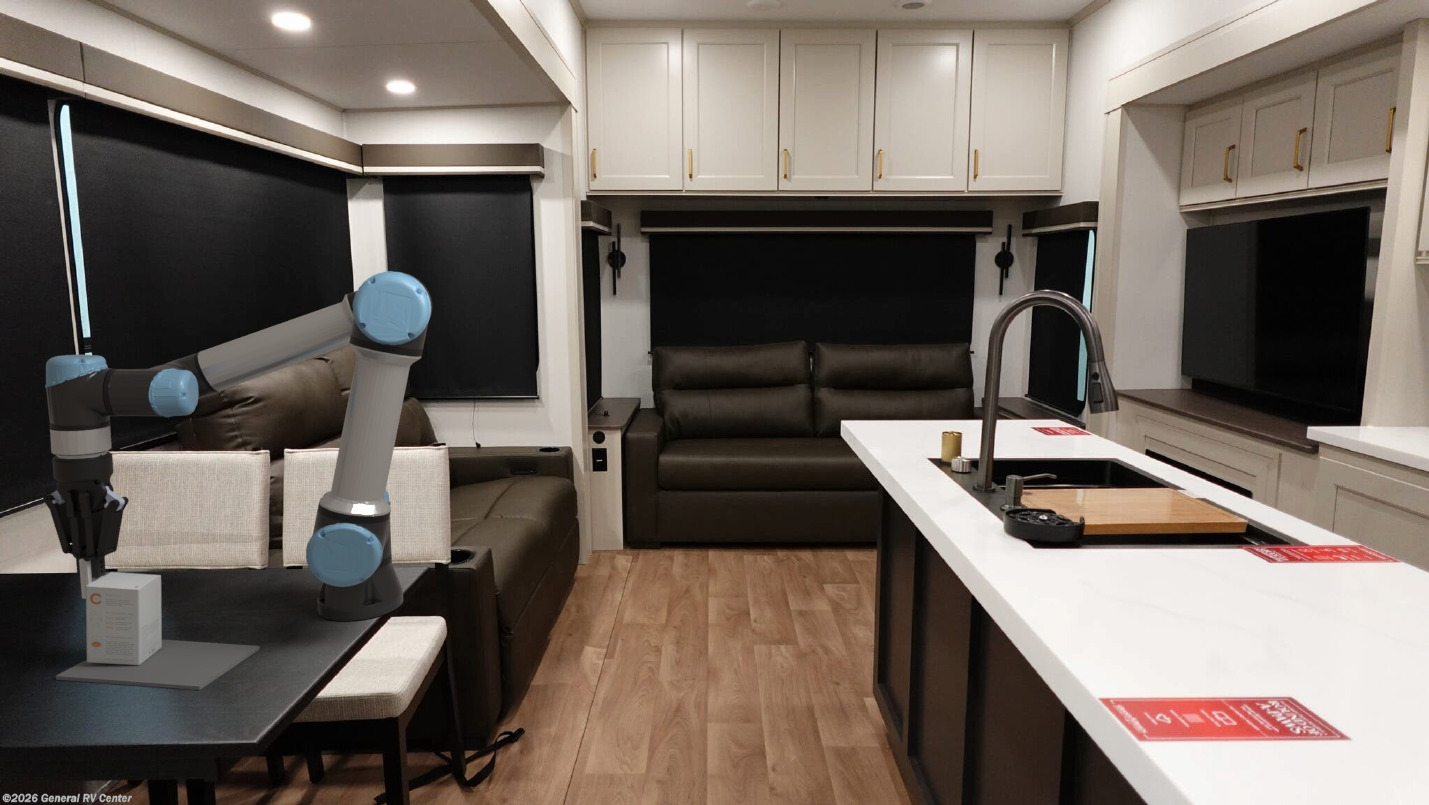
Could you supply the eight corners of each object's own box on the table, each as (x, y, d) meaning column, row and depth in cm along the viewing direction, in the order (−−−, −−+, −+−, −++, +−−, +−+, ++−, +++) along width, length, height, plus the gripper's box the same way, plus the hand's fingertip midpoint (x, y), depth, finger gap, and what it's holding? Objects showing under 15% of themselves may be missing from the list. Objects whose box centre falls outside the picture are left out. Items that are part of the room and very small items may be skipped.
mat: (259, 649, 138) (259, 646, 138) (199, 690, 124) (199, 686, 124) (129, 640, 140) (128, 637, 140) (56, 679, 126) (55, 676, 126)
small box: (162, 648, 136) (162, 574, 134) (139, 666, 130) (138, 589, 128) (111, 645, 135) (110, 570, 133) (85, 663, 129) (84, 585, 127)
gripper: (139, 451, 131) (148, 590, 135) (66, 445, 132) (77, 583, 136) (99, 461, 124) (110, 608, 127) (22, 455, 125) (35, 601, 129)
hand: (93, 595), depth 132 cm, fingers closed
